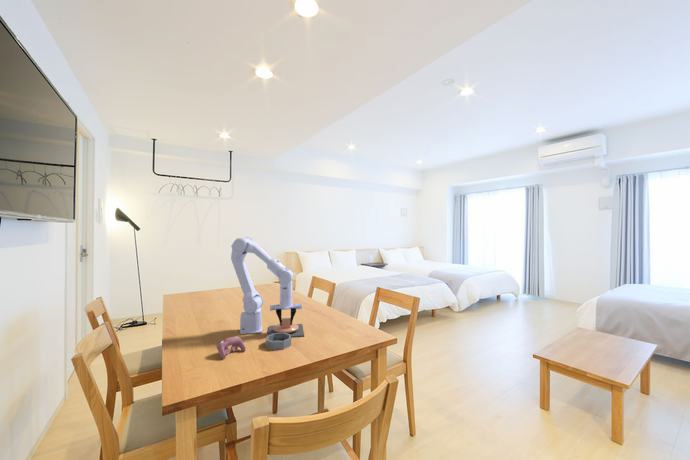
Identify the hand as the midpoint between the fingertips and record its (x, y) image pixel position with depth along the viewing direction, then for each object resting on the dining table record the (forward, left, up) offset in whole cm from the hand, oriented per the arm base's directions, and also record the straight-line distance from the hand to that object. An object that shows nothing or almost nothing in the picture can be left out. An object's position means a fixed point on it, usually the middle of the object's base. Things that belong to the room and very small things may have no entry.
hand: (285, 324), depth 134 cm
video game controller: (-21, -19, -3) cm, 29 cm away
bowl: (-3, -14, -3) cm, 15 cm away
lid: (0, -1, -2) cm, 2 cm away
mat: (0, 0, -3) cm, 3 cm away
